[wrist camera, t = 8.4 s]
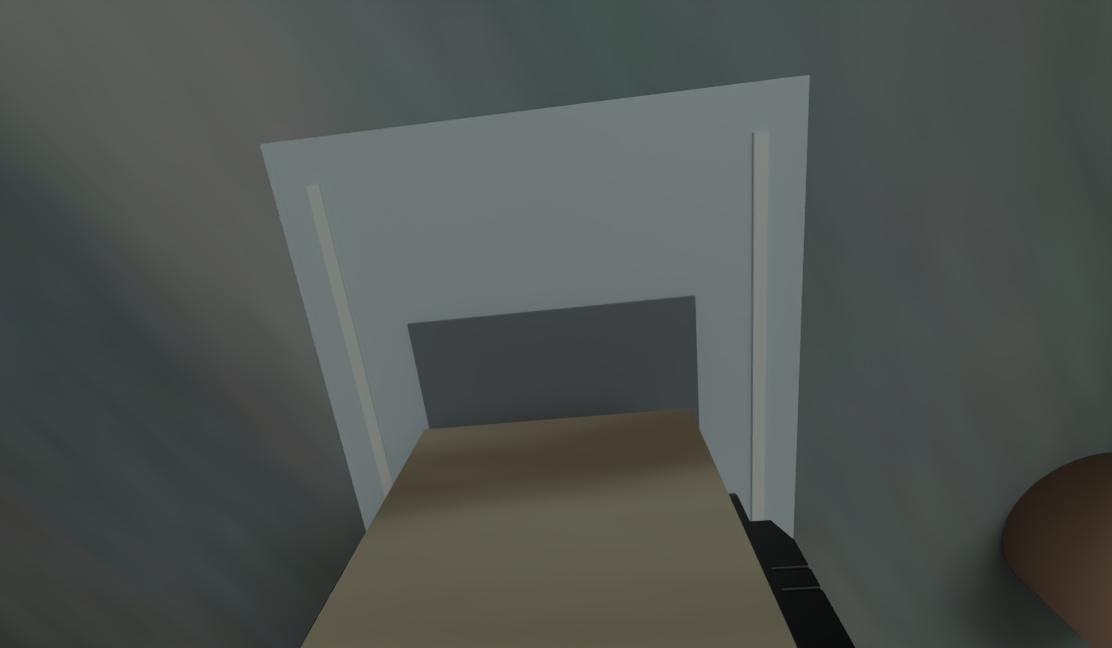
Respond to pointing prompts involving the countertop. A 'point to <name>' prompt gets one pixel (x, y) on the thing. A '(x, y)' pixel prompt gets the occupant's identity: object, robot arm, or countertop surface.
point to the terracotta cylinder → (1068, 545)
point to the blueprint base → (561, 274)
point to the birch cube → (556, 544)
